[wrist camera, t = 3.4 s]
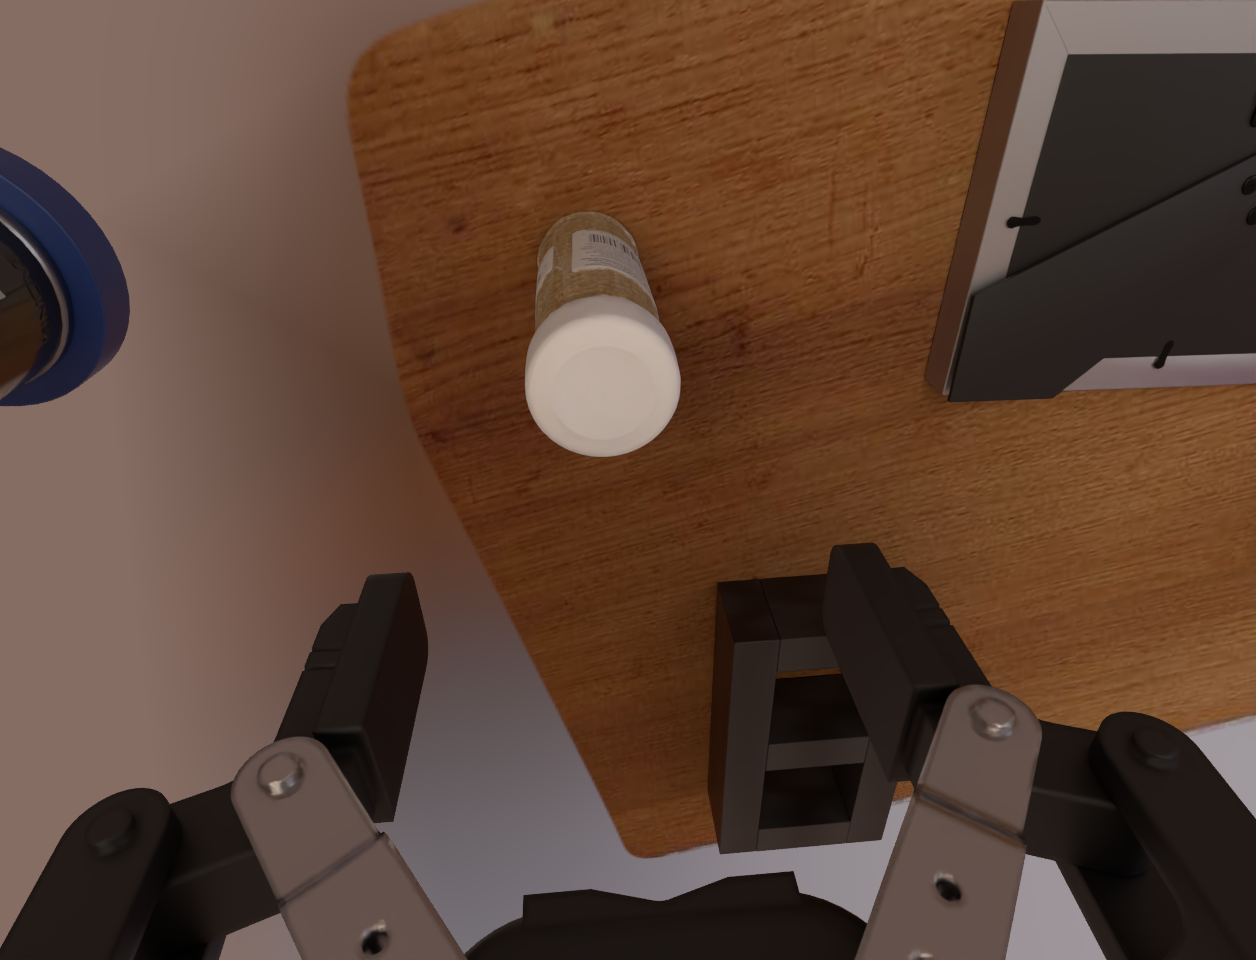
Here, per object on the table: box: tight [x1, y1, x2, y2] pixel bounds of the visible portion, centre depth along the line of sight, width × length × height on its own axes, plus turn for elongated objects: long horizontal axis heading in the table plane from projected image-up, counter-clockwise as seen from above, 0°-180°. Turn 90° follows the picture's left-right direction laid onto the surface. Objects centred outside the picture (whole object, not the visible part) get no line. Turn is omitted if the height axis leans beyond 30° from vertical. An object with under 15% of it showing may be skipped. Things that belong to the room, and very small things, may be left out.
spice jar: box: [525, 211, 681, 457], centre depth 26 cm, size 5×5×13 cm
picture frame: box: [925, 0, 1256, 402], centre depth 31 cm, size 16×3×21 cm
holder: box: [708, 574, 897, 854], centre depth 46 cm, size 11×20×5 cm, turn 2°
